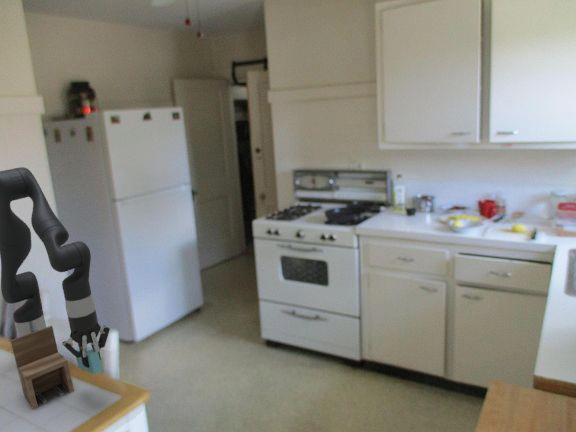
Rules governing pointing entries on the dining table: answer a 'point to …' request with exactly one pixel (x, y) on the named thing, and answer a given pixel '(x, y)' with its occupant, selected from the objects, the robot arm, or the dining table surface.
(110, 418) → the dining table surface
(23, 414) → the dining table surface
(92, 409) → the dining table surface
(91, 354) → the panel
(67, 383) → the walnut shelf
